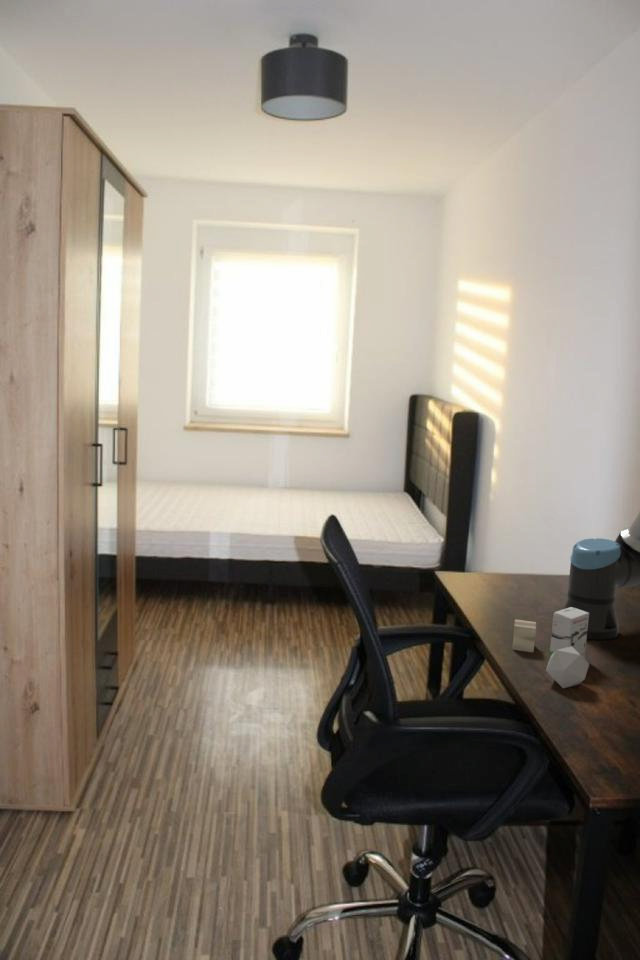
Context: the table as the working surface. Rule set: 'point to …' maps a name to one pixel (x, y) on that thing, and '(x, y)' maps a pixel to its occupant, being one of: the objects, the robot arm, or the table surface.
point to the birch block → (524, 635)
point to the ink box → (569, 630)
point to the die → (567, 667)
